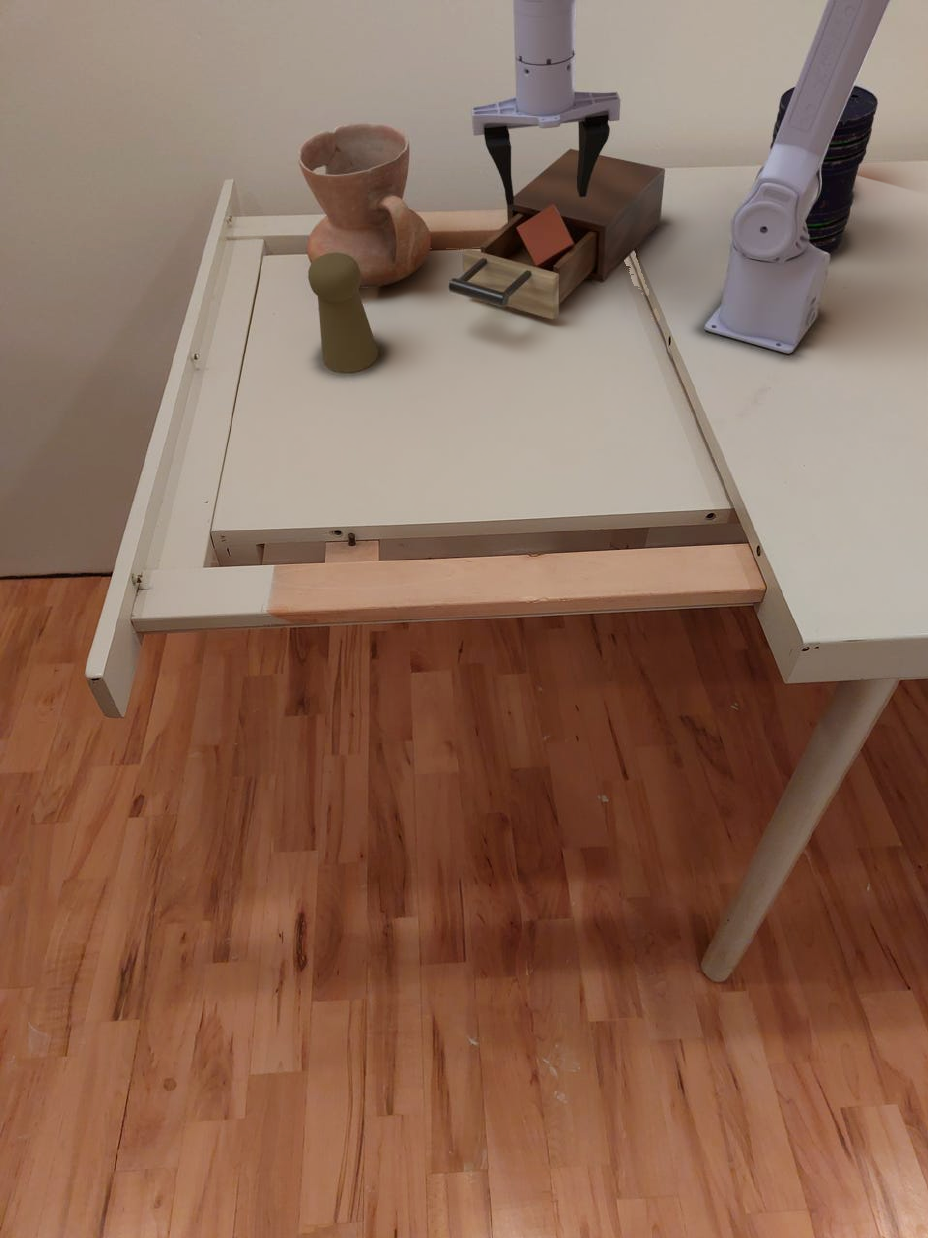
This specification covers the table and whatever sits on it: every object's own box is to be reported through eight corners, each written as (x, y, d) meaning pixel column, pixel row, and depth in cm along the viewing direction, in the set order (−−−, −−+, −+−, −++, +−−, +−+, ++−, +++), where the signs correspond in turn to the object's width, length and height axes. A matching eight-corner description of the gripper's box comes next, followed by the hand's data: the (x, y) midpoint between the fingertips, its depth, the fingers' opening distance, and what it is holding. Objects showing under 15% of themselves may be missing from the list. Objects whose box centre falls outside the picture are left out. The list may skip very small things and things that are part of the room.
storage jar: (774, 267, 101) (803, 127, 90) (740, 225, 107) (763, 90, 96) (858, 251, 102) (897, 111, 90) (819, 211, 108) (851, 75, 97)
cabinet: (603, 282, 102) (606, 226, 97) (508, 256, 107) (506, 201, 102) (660, 223, 109) (665, 168, 104) (569, 201, 114) (570, 148, 109)
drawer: (523, 350, 93) (522, 303, 89) (433, 321, 98) (428, 276, 94) (612, 259, 103) (615, 213, 99) (527, 237, 108) (526, 192, 103)
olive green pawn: (370, 374, 94) (352, 278, 86) (315, 370, 95) (292, 275, 87) (384, 340, 98) (369, 244, 89) (331, 337, 99) (311, 242, 90)
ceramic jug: (288, 260, 110) (259, 139, 99) (390, 221, 114) (374, 101, 103) (357, 326, 100) (333, 200, 89) (466, 281, 104) (457, 155, 93)
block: (576, 247, 99) (573, 243, 95) (541, 269, 101) (536, 266, 97) (557, 209, 99) (553, 203, 95) (522, 232, 100) (516, 227, 96)
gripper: (471, 78, 82) (480, 221, 93) (629, 61, 82) (620, 207, 93) (466, 49, 87) (475, 189, 97) (616, 33, 87) (608, 175, 97)
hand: (545, 196), depth 95 cm, fingers open, 7 cm apart
